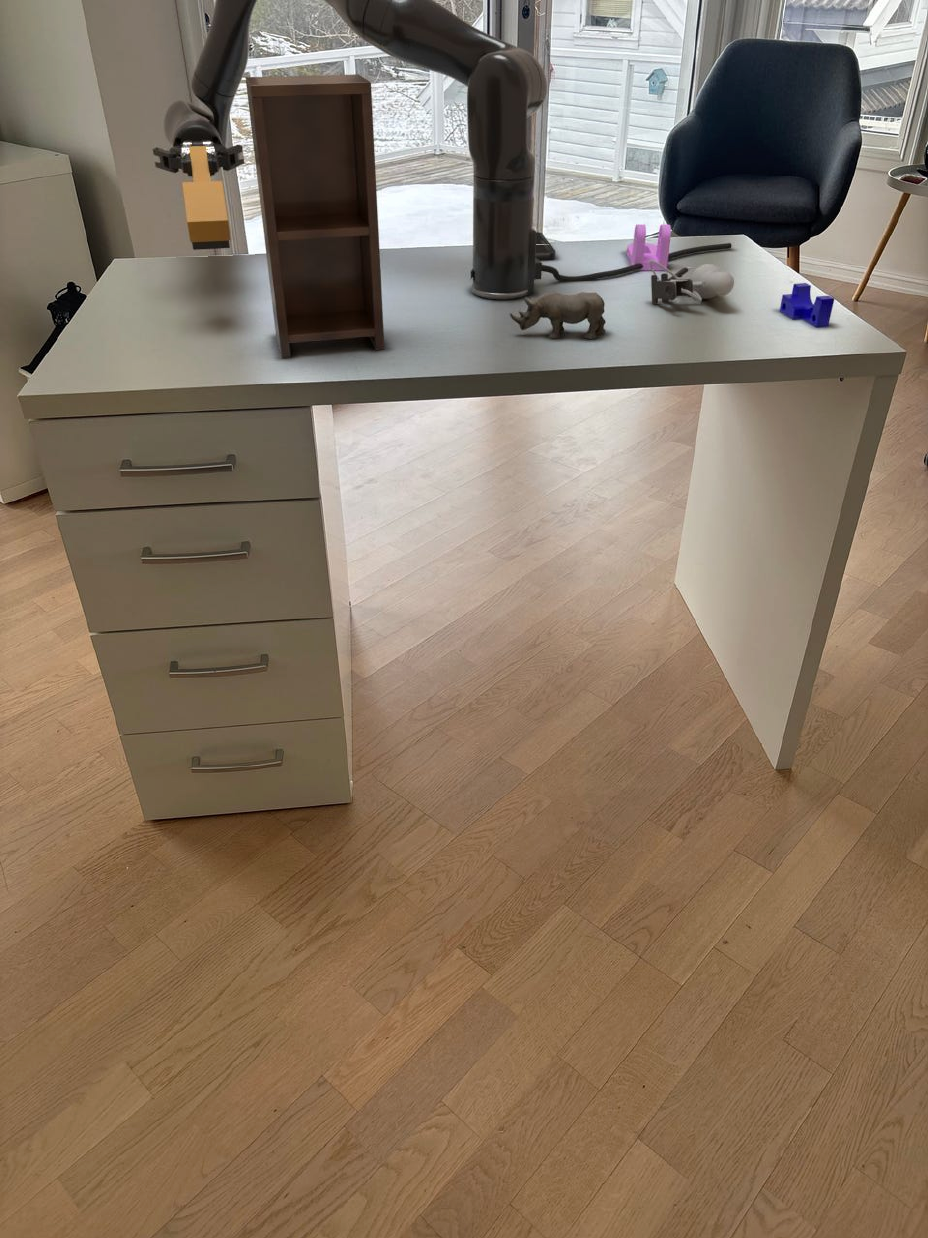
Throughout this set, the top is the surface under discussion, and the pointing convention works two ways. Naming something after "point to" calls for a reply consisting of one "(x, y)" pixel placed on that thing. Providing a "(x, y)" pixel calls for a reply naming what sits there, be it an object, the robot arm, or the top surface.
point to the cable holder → (807, 306)
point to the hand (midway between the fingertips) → (200, 167)
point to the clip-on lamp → (691, 283)
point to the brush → (205, 205)
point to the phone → (543, 248)
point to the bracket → (649, 248)
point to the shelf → (318, 205)
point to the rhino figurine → (564, 312)
